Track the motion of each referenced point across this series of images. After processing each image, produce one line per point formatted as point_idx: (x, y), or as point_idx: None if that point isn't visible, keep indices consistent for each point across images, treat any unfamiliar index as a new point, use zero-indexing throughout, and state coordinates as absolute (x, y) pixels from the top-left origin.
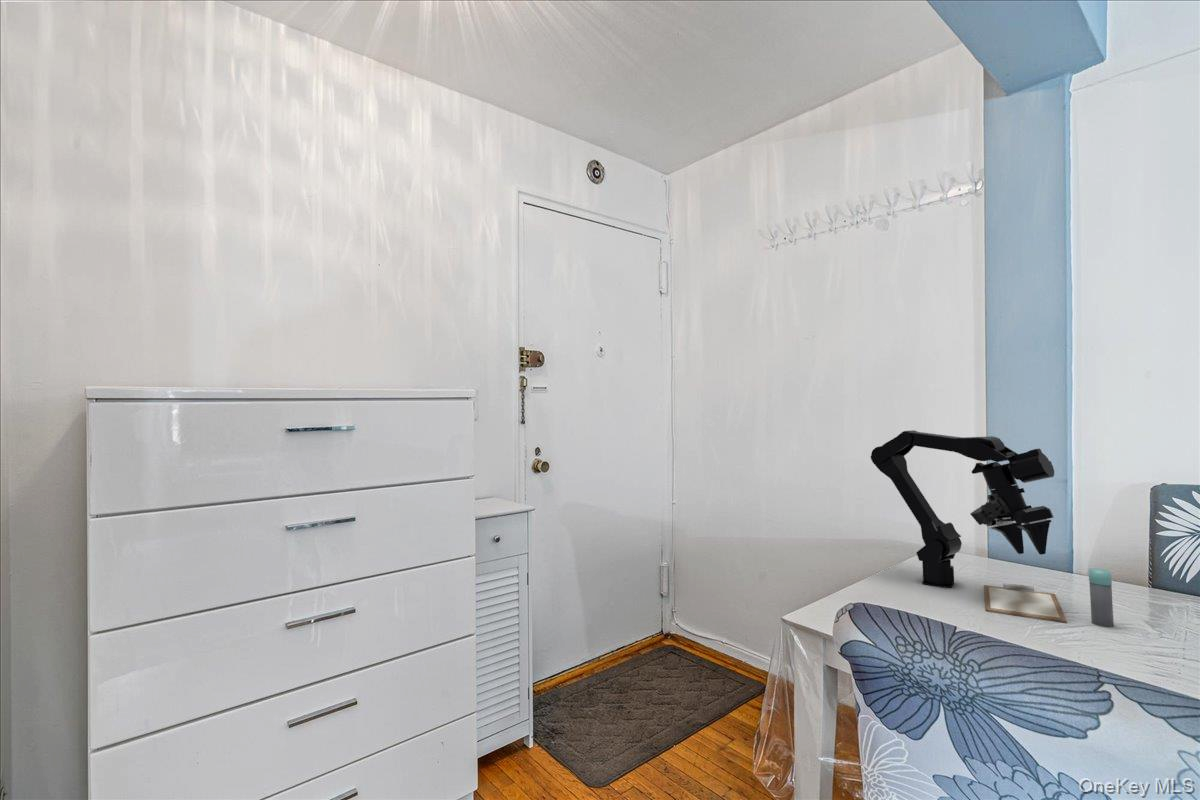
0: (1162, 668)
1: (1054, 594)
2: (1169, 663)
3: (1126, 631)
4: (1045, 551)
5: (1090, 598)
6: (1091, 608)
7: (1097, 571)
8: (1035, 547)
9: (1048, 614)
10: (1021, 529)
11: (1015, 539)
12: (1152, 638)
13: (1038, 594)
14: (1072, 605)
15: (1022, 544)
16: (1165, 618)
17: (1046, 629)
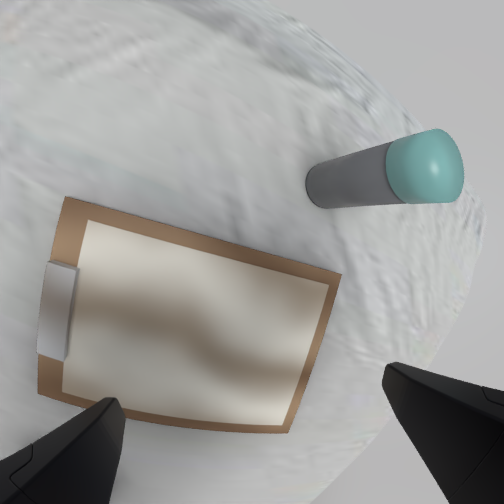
0: (468, 212)
1: (72, 200)
2: None
3: None
4: (405, 365)
5: (364, 204)
6: (349, 206)
7: (453, 181)
8: (404, 420)
9: (308, 305)
10: (19, 500)
11: (89, 484)
12: (377, 132)
13: (94, 261)
14: (158, 180)
15: (95, 430)
16: (233, 13)
17: (372, 329)
